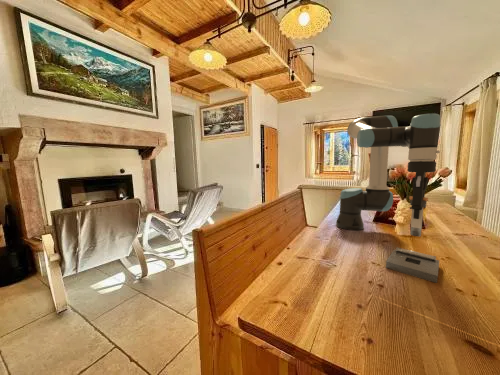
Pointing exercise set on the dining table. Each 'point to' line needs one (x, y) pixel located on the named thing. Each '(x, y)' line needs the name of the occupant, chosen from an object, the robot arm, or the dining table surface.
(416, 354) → the dining table surface
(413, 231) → the key
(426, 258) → the grey flat square block
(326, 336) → the dining table surface
